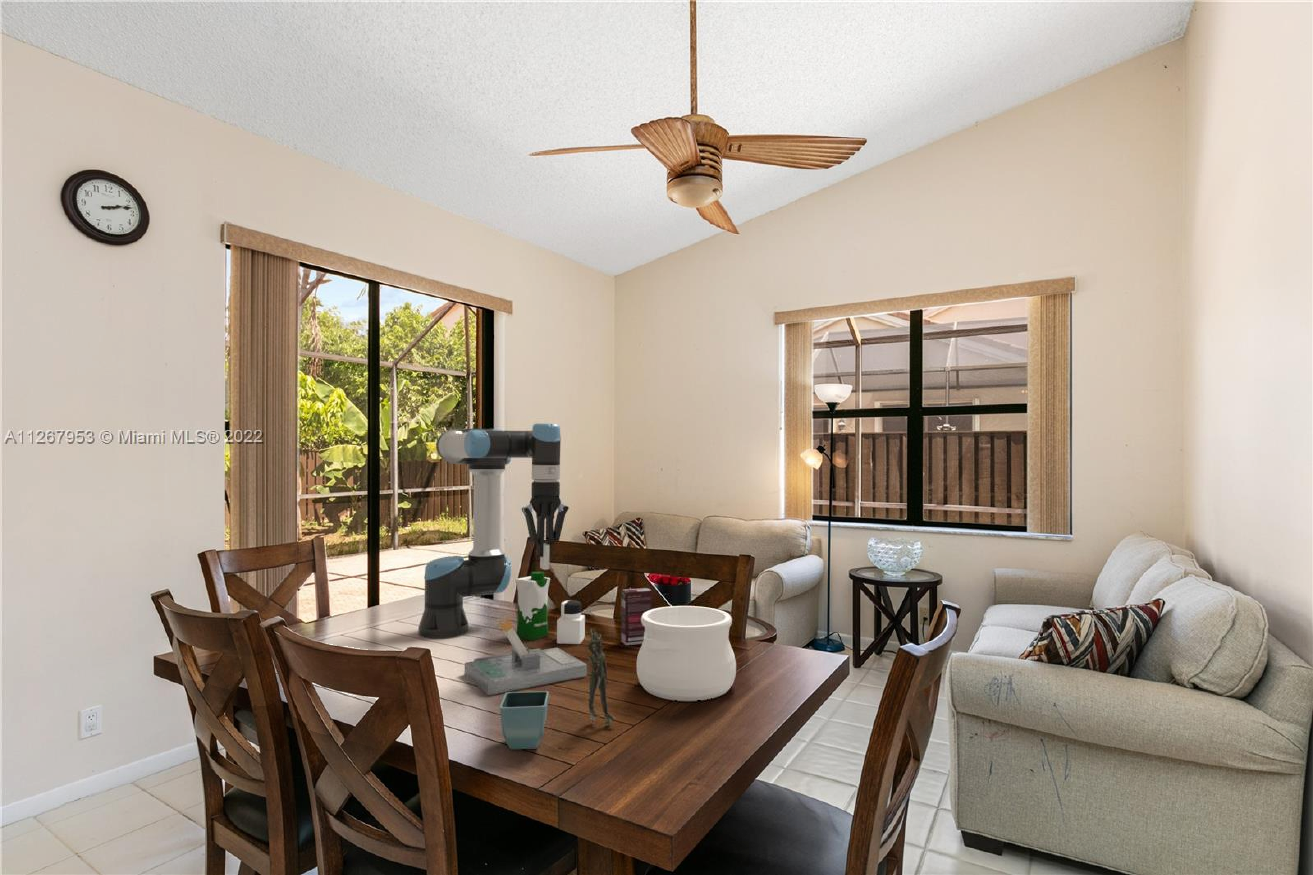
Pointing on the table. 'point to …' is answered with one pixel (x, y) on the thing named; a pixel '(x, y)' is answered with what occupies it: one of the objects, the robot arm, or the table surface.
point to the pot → (686, 653)
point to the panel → (524, 670)
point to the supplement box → (634, 614)
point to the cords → (502, 655)
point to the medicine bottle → (571, 623)
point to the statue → (598, 676)
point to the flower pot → (523, 718)
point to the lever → (512, 637)
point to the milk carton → (532, 606)
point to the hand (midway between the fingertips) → (544, 568)
